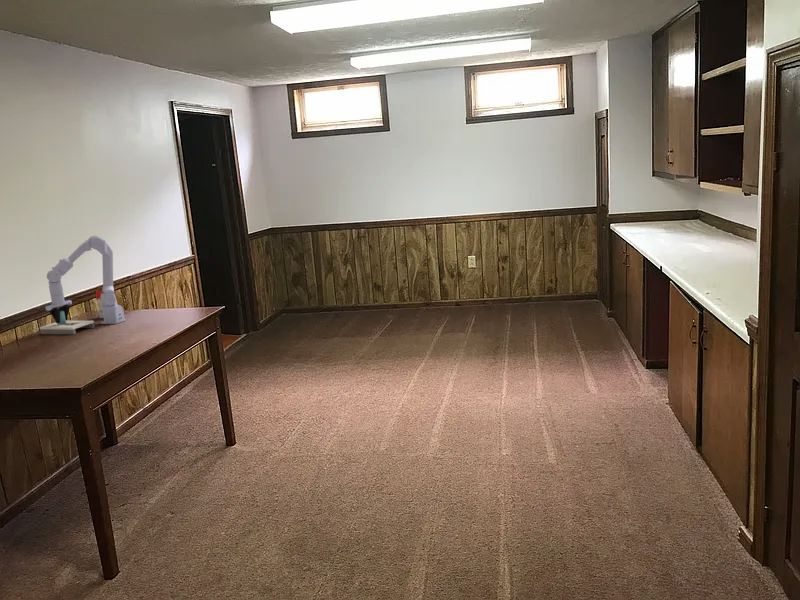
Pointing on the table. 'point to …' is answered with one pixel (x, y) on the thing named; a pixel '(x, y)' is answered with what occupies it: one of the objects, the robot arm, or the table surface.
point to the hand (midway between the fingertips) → (61, 321)
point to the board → (66, 327)
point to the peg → (62, 318)
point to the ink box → (100, 303)
